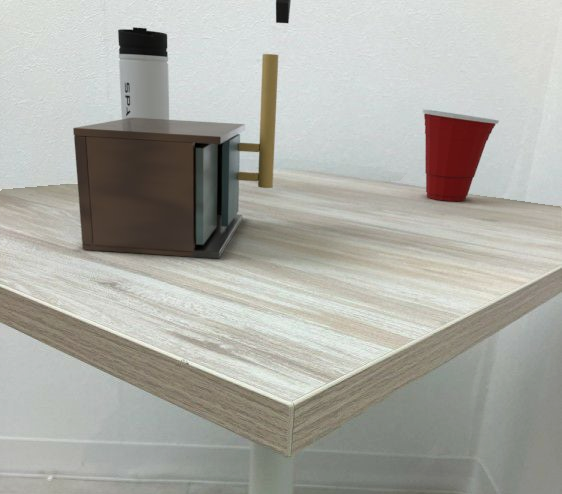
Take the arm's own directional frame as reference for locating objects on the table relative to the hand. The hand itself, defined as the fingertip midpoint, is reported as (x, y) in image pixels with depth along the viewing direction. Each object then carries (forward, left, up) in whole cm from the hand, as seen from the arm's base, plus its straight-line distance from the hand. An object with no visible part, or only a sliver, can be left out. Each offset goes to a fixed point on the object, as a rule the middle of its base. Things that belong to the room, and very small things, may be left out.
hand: (282, 12), depth 75 cm
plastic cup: (+14, +25, -22) cm, 36 cm away
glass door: (+7, -15, -21) cm, 27 cm away
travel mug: (-19, -4, -22) cm, 29 cm away
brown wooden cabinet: (+3, -23, -22) cm, 32 cm away
